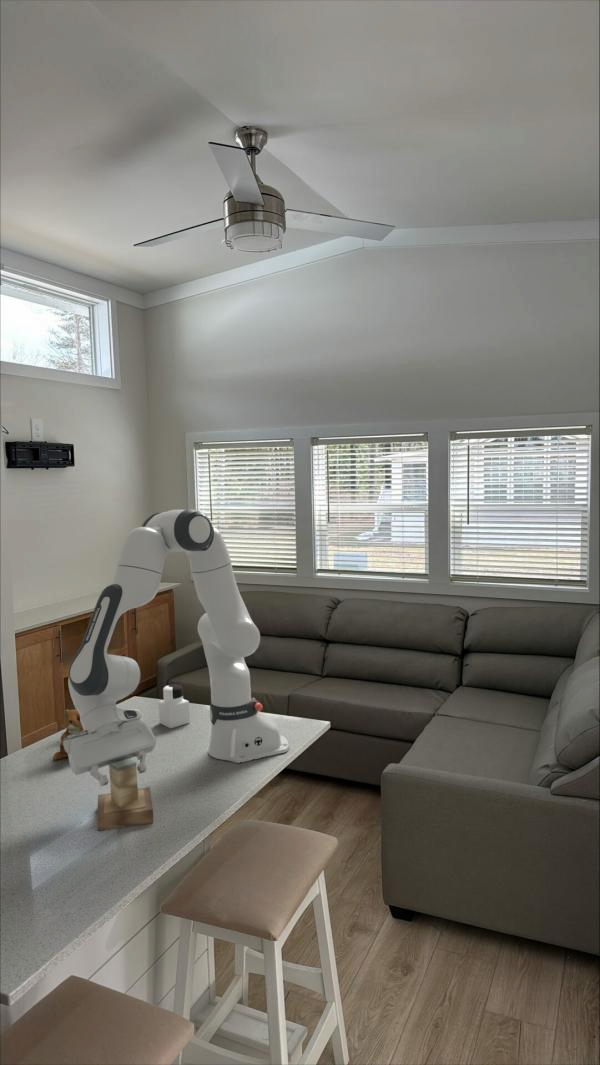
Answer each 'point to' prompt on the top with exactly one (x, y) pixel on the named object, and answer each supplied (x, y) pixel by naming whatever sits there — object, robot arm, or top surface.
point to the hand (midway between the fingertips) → (124, 778)
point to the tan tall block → (123, 781)
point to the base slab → (124, 811)
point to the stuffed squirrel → (69, 731)
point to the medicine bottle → (174, 707)
